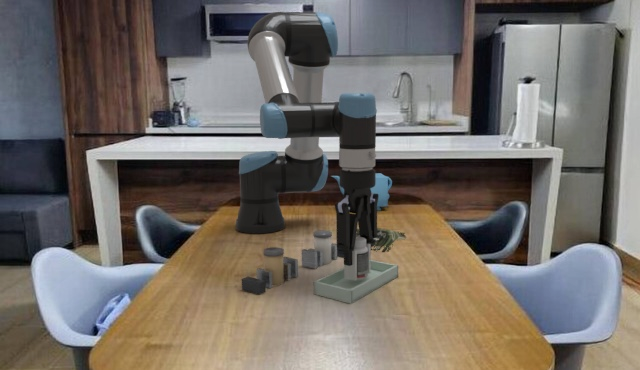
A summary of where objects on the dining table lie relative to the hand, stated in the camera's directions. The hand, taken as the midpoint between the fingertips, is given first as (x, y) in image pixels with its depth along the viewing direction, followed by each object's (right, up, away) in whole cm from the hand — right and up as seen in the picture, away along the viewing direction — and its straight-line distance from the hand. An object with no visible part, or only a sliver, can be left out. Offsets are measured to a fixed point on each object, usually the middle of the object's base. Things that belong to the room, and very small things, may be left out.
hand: (357, 275), depth 115 cm
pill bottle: (0, 0, 0) cm, 1 cm away
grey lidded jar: (-7, +1, +17) cm, 18 cm away
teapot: (+7, +11, +77) cm, 78 cm away
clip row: (-13, -1, +10) cm, 16 cm away
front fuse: (-18, -2, +3) cm, 18 cm away
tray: (0, -2, 0) cm, 2 cm away
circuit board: (+7, +3, +36) cm, 37 cm away
